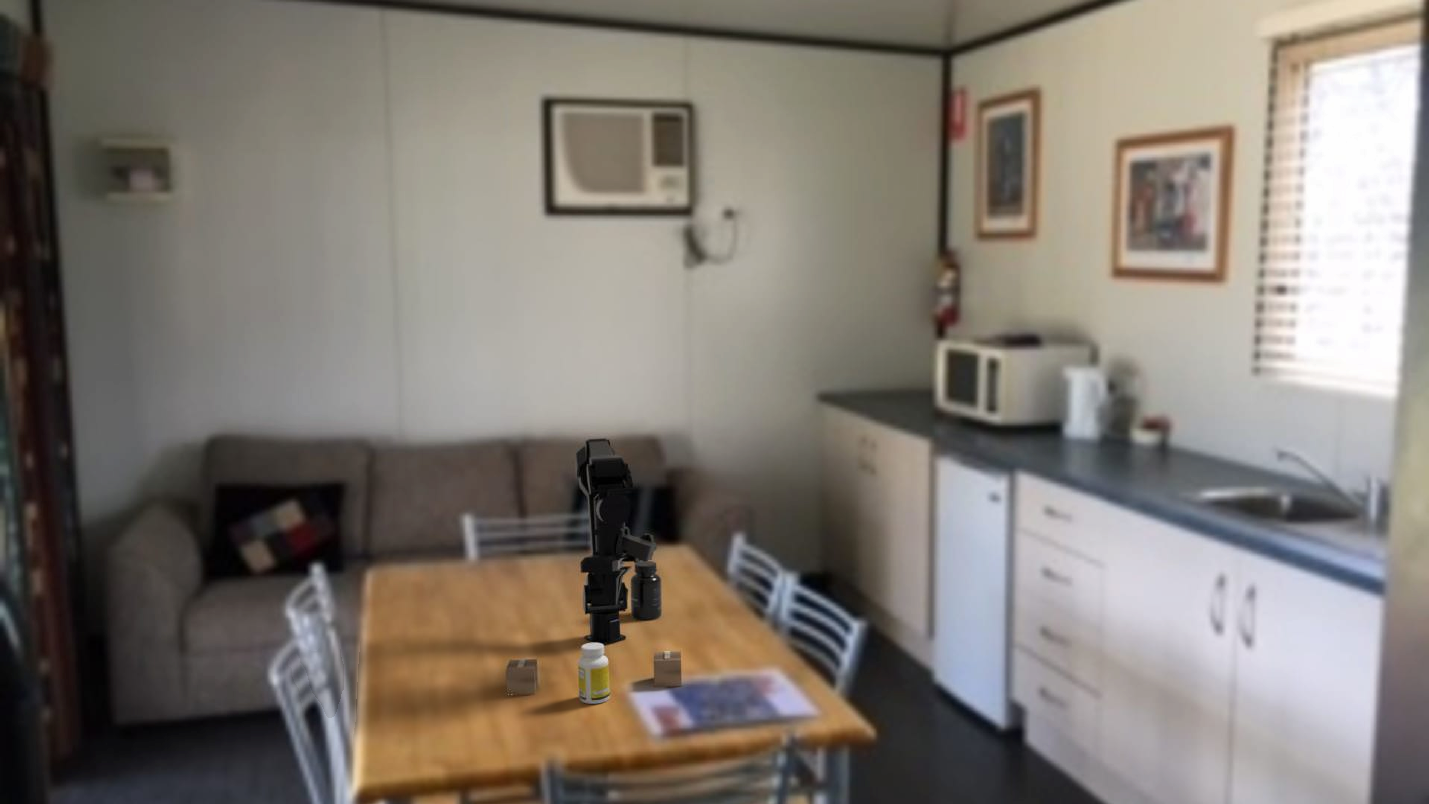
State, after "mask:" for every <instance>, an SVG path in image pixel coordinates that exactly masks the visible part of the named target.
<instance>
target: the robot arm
mask: <svg viewBox="0 0 1429 804" xmlns="http://www.w3.org/2000/svg"><path fill="white" fill-rule="evenodd" d="M574 471H575V478H577V479H578V483H579V488H580V490H581V491H582V492H583V494H584V495H585V496H586V498H587V506H588V519H589V521H588V522H589V533H590V534H589V536H590V547H591V555H587V556H585V557H584V558H582V560H581V561H580V563H579V566H580V573H581V574H585V573H587V575H586V579H585V584H584V585H583V589H582V590H583V592H582V607H583V608H582V609H583V612H584V615H589V629H590V630H589V631H590V632H589V633H590V634H586V635H584V637H583V638H584V639H585V640H586V641H590V642H591V643H601V644H603V645H604V646H605V645H608V644H610V643H611V644H612V643H615V642H618V641H622V640H626V639H627V636H626V635H625V634H621V620H620V612H626V610H628V596H629V589H628V588H627V587H626V584H625V582H624V581H623V579H624V576H625V575H626V573H628V572H629V571H630V570H631V569H632V567H633V566H631V565H630V566H628V565H626V564H625V562H626V563H630V562H631V563H632V562H633V563H634V564H635V563H637V562H641V561H645V562H647V561H652V560H653V556H654V553H655V551H657V546H656V545H657V542H655V539H654V535H652V534H650V533H644V534H643V535H642V536H641V537H640V536H634V535H631V530H630V528H629V527H628V526H626V522H627V521H628V519H629V518H630V514H631V506H630V503H629V502H628V500H627V499H626V498H625V497H624V493H632V492H631V490H632V489H633V486H634V481H633V477H632V472H631V468H630V467H629V464H628V462H626V461H625V459H624V457H623V456H622V455H617V454H616V451H615V450H614V449H613V448H612V446H611V443H610V439H608V438H606V437H605V438H603V437H602V438H588V439H587V440H585V441H584V446H583V447H582V448H580V449H579V450H578V451H577V452H576V453H575V461H574Z"/></svg>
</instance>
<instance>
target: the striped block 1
mask: <svg viewBox="0 0 1429 804" xmlns="http://www.w3.org/2000/svg"><path fill="white" fill-rule="evenodd" d="M505 673H506V674H505V675H506V696H507V695H508V694H509V695H508V696H530V695H531V696H532V694H533V696H534V695H536V693H537V689H538V686H539V676H538V675H539V674H538V659H537V658H529V659H526V658H520V659H509V661H508V663H507V665H506V668H505ZM511 694H513V695H511Z"/></svg>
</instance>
